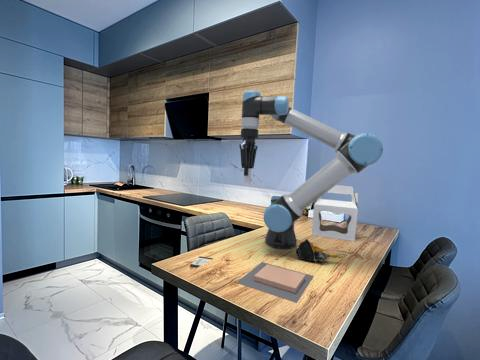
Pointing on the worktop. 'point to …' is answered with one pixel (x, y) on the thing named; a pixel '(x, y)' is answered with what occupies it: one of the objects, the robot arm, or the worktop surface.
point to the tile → (280, 278)
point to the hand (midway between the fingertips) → (246, 183)
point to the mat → (249, 282)
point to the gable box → (338, 208)
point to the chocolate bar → (200, 261)
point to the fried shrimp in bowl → (314, 252)
